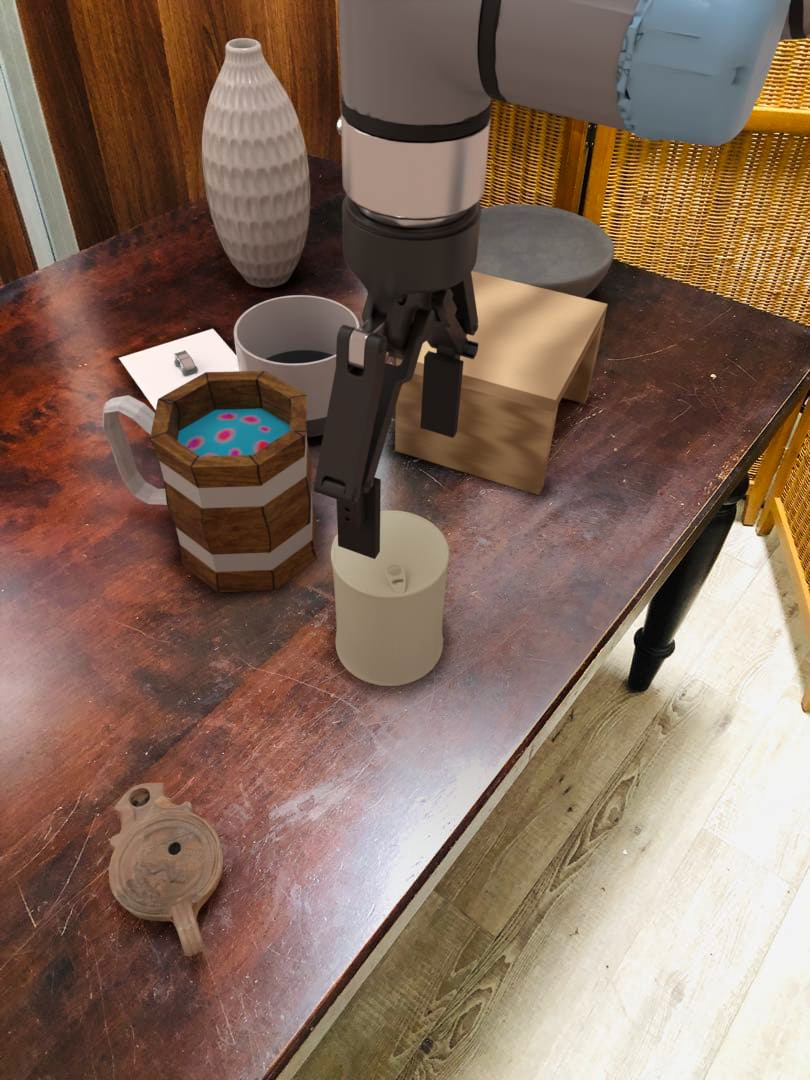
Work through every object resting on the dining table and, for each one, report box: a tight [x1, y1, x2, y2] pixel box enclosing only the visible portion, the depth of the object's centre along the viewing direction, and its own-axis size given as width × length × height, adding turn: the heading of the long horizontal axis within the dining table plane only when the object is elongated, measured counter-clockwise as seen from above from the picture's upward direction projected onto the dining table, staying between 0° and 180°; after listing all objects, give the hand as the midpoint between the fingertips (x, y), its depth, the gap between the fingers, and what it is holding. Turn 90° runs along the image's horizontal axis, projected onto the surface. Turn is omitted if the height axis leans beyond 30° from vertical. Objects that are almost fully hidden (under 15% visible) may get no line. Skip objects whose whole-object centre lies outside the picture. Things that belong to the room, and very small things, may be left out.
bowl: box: [472, 203, 615, 299], centre depth 112 cm, size 21×21×8 cm
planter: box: [233, 294, 361, 439], centre depth 94 cm, size 13×13×10 cm
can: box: [330, 509, 451, 687], centre depth 71 cm, size 9×9×12 cm
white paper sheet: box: [118, 328, 239, 411], centre depth 102 cm, size 12×12×2 cm
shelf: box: [394, 271, 609, 496], centre depth 92 cm, size 16×18×12 cm
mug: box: [101, 371, 318, 593], centre depth 79 cm, size 20×14×15 cm
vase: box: [201, 37, 311, 289], centre depth 107 cm, size 13×13×28 cm
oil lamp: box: [108, 782, 224, 958], centre depth 59 cm, size 13×8×5 cm, turn 25°
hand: (401, 485), depth 62 cm, fingers open, 13 cm apart
